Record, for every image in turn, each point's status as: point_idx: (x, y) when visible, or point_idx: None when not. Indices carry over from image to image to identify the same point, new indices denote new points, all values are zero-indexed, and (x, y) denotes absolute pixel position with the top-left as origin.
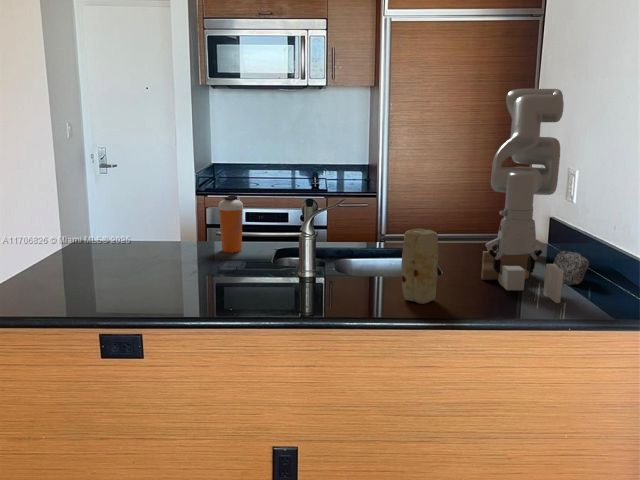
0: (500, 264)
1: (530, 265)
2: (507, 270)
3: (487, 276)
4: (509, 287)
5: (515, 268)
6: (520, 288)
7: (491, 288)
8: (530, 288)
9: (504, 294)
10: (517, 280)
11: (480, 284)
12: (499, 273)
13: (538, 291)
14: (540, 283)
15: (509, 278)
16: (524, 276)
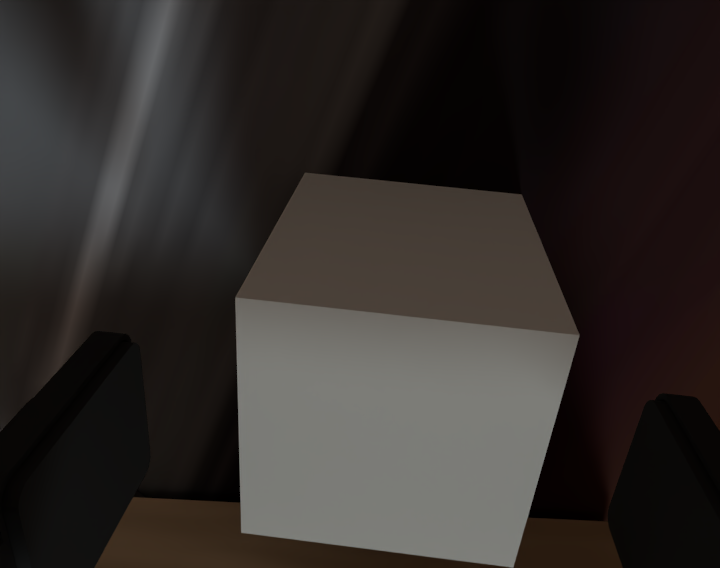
0: (709, 504)
1: (83, 425)
2: (568, 360)
3: (568, 545)
4: (492, 202)
5: (371, 426)
6: (345, 183)
7: (675, 275)
8: (197, 233)
9: (660, 7)
10: (386, 231)
11: (711, 416)
12: (432, 564)
13: (135, 111)
14: (41, 379)
15: (515, 260)
16: (271, 245)
